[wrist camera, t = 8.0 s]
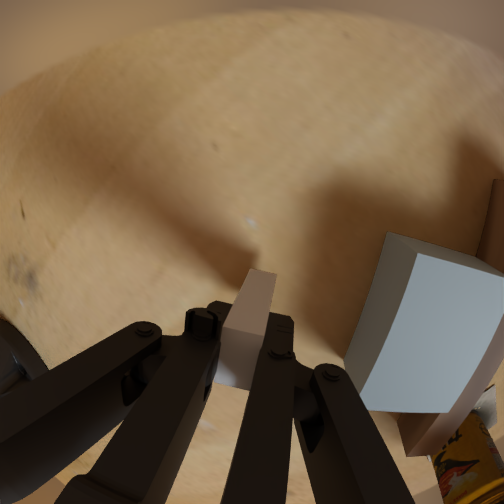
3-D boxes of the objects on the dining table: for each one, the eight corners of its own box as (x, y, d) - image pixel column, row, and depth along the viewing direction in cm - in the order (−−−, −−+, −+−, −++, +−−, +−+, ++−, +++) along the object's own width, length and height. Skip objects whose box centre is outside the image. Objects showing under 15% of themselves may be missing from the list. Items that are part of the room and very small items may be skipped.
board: (396, 422, 19) (406, 456, 15) (493, 179, 13) (531, 183, 10) (424, 422, 19) (435, 454, 15) (520, 193, 13) (556, 200, 9)
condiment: (416, 430, 19) (445, 538, 8) (494, 383, 17) (548, 474, 6) (428, 460, 20) (450, 547, 9) (495, 421, 18) (533, 498, 7)
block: (342, 358, 18) (351, 408, 14) (386, 230, 16) (417, 252, 11) (425, 368, 18) (448, 412, 13) (473, 255, 15) (515, 281, 10)
